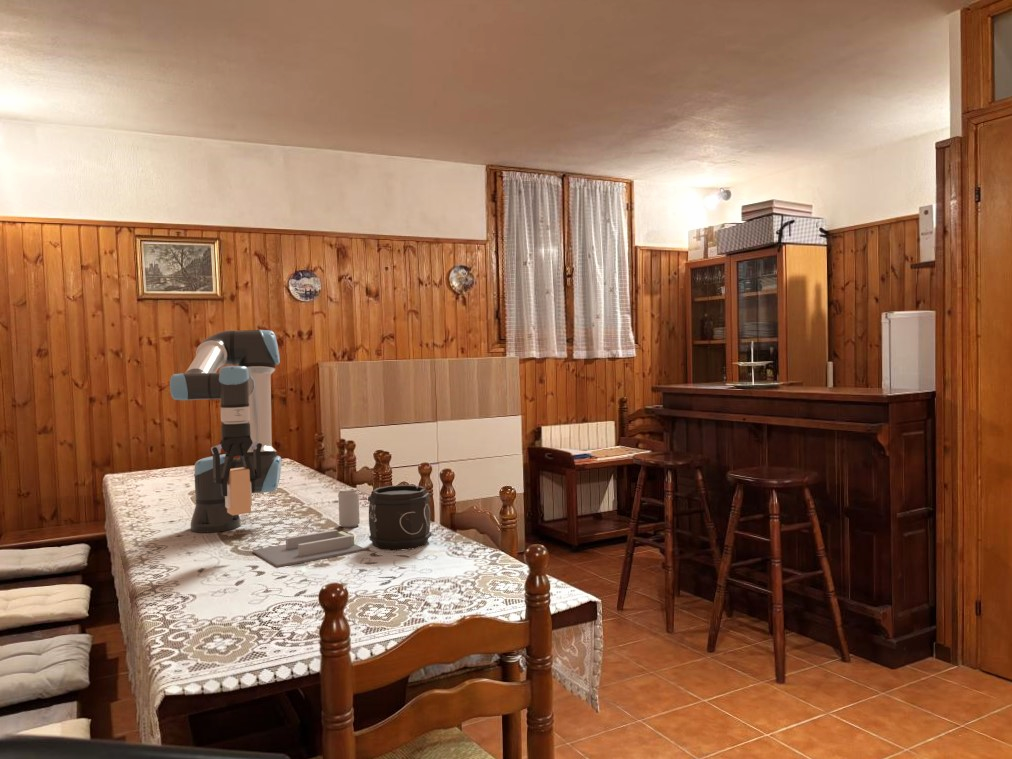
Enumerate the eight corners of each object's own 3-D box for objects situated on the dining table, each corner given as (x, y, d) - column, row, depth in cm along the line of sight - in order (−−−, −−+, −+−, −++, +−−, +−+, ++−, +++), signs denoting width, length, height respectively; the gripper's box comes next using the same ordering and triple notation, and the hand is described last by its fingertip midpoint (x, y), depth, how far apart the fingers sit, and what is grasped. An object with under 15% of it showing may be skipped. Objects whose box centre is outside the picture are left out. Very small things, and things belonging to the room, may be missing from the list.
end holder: (252, 552, 213) (252, 539, 213) (335, 537, 228) (335, 525, 227) (277, 567, 197) (276, 553, 196) (365, 550, 211) (364, 537, 211)
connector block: (227, 512, 209) (225, 469, 209) (245, 509, 212) (243, 467, 212) (232, 515, 205) (230, 471, 205) (251, 512, 208) (249, 469, 208)
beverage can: (355, 528, 239) (353, 490, 239) (336, 528, 241) (334, 490, 240) (362, 524, 246) (361, 487, 245) (344, 523, 247) (343, 487, 246)
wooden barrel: (443, 538, 224) (442, 485, 223) (411, 553, 207) (409, 496, 207) (392, 533, 231) (391, 482, 231) (357, 547, 215) (355, 493, 214)
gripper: (205, 426, 199) (208, 513, 200) (272, 420, 210) (275, 503, 211) (197, 423, 205) (201, 508, 206) (263, 418, 216) (266, 499, 217)
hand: (238, 506), depth 209 cm, fingers closed on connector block, 5 cm apart
